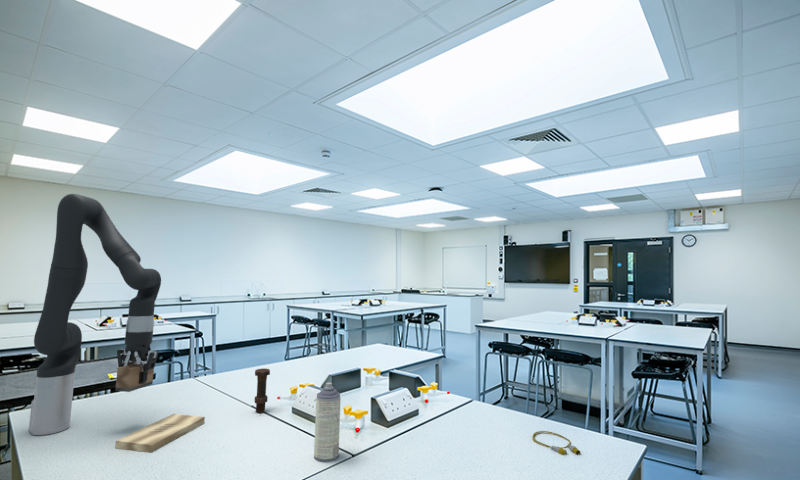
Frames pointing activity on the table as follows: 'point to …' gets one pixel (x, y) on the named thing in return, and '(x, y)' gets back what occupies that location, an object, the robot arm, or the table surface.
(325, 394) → the aerosol can
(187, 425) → the pine board
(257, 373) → the bolt
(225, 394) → the table surface
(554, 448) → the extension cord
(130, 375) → the block
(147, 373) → the robot arm
